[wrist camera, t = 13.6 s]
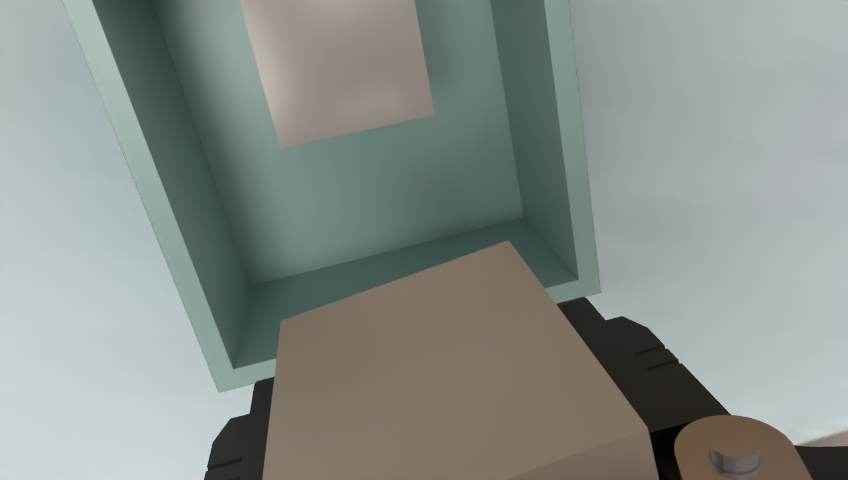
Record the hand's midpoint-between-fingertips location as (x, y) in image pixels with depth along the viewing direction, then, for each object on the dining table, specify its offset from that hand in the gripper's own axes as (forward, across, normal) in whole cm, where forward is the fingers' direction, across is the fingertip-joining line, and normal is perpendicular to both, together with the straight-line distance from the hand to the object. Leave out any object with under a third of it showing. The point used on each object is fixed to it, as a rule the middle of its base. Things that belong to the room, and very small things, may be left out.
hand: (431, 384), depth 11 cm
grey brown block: (+12, 0, -5) cm, 13 cm away
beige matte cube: (0, 0, 0) cm, 0 cm away
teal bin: (+13, 0, -3) cm, 13 cm away
